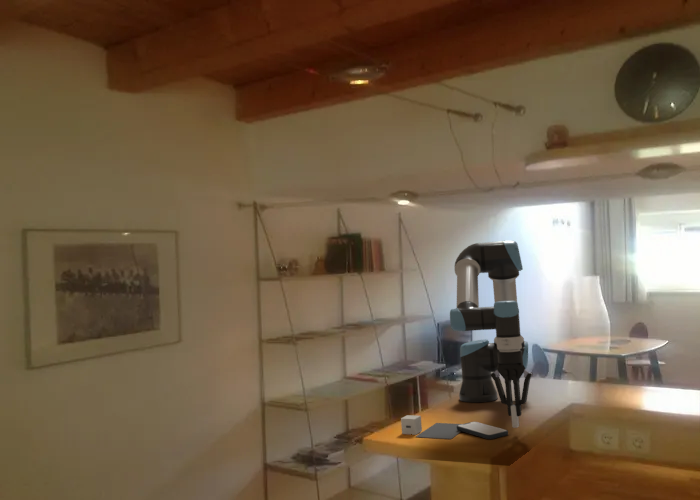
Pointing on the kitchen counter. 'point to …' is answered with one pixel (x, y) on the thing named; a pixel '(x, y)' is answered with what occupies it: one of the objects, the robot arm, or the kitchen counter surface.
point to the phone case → (482, 430)
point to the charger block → (411, 424)
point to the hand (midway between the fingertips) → (515, 426)
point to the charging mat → (440, 431)
